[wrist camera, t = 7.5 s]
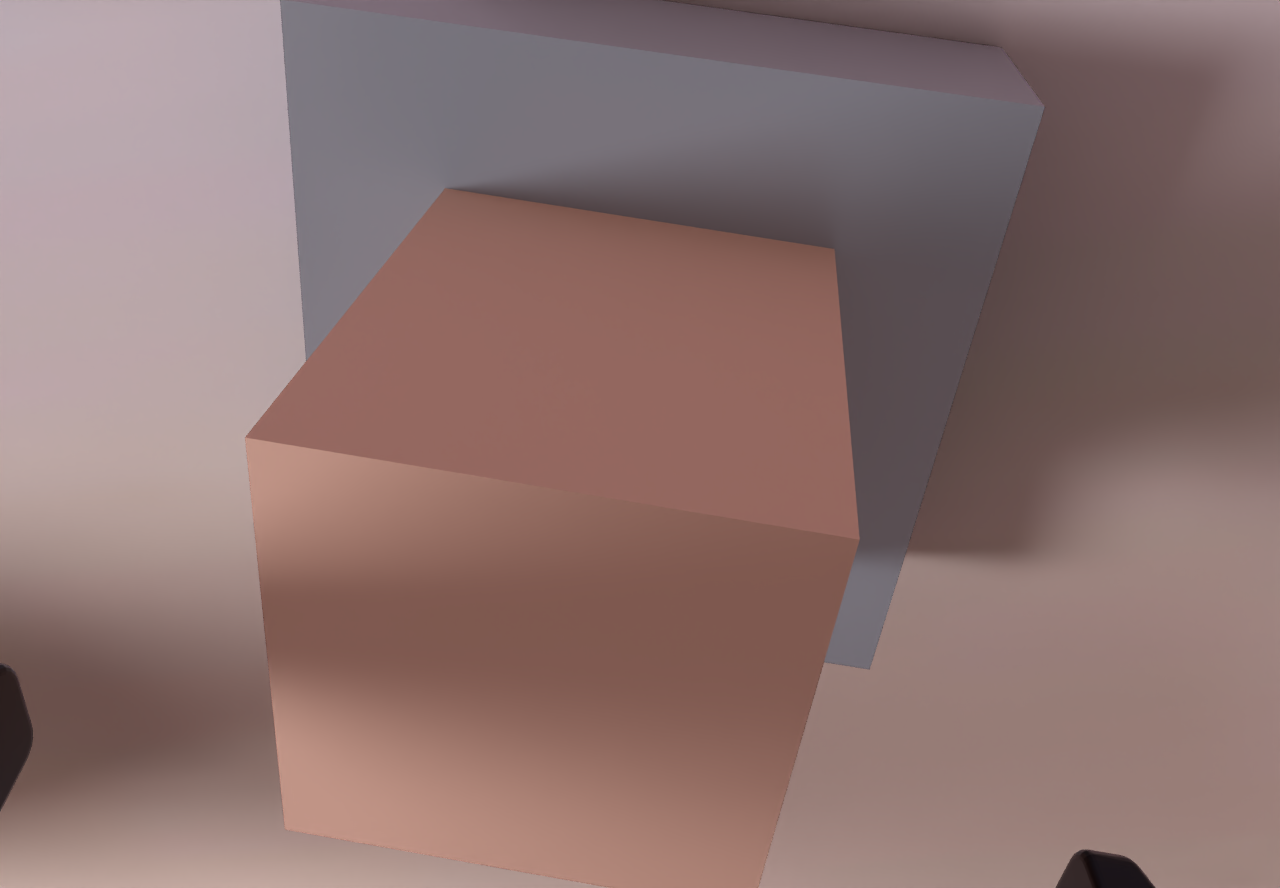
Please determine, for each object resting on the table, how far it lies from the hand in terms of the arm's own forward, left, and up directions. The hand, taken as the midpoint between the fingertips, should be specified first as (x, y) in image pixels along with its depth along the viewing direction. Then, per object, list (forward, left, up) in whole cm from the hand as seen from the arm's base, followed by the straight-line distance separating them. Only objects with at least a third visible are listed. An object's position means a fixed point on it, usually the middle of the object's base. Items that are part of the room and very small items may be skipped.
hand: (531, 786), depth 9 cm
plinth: (0, 0, -10) cm, 10 cm away
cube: (0, 0, -7) cm, 7 cm away
